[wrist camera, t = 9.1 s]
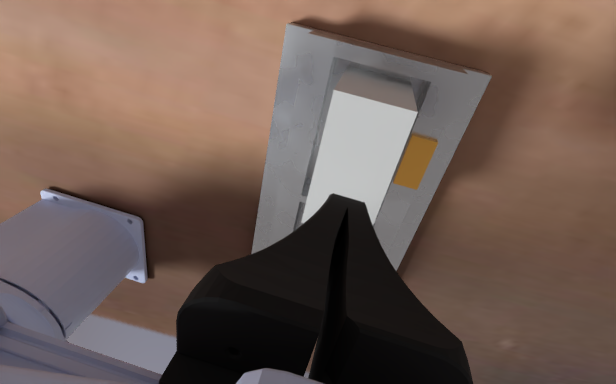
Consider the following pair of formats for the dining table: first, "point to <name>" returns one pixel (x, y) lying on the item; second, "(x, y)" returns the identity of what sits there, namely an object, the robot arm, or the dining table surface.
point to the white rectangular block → (362, 139)
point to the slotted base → (312, 117)
